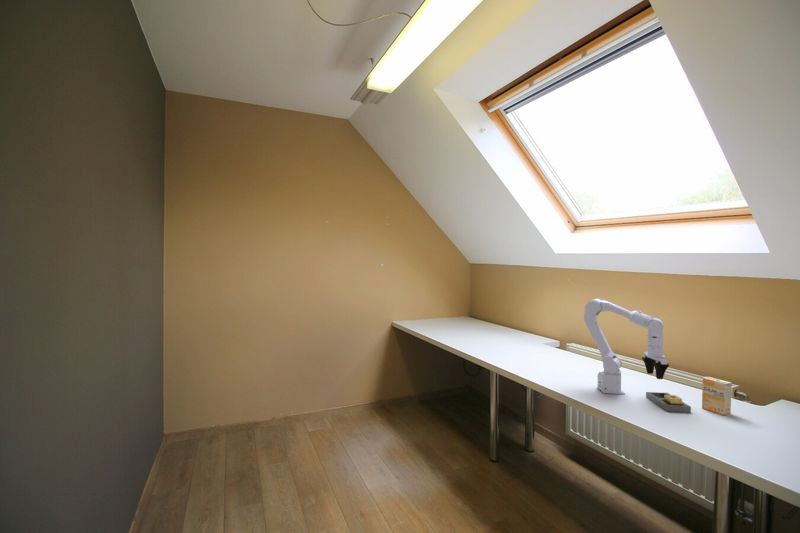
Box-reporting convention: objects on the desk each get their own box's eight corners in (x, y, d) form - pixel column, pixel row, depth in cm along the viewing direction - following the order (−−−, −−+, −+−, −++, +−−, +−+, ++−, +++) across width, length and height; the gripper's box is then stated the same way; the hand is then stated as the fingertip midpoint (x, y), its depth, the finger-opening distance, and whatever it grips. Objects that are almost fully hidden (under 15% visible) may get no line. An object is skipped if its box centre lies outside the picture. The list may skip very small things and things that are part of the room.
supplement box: (701, 408, 158) (701, 377, 158) (708, 406, 160) (708, 376, 160) (724, 416, 150) (725, 383, 150) (731, 414, 152) (732, 381, 152)
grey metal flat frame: (666, 411, 154) (667, 405, 154) (646, 397, 170) (646, 392, 170) (690, 412, 153) (690, 406, 153) (667, 398, 169) (667, 392, 169)
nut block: (670, 410, 156) (670, 398, 156) (664, 406, 160) (664, 394, 160) (681, 411, 155) (682, 398, 155) (675, 406, 160) (675, 395, 160)
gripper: (674, 349, 160) (674, 381, 160) (655, 342, 174) (655, 371, 175) (657, 349, 161) (656, 381, 161) (639, 342, 175) (638, 371, 175)
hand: (654, 376), depth 168 cm, fingers open, 7 cm apart
